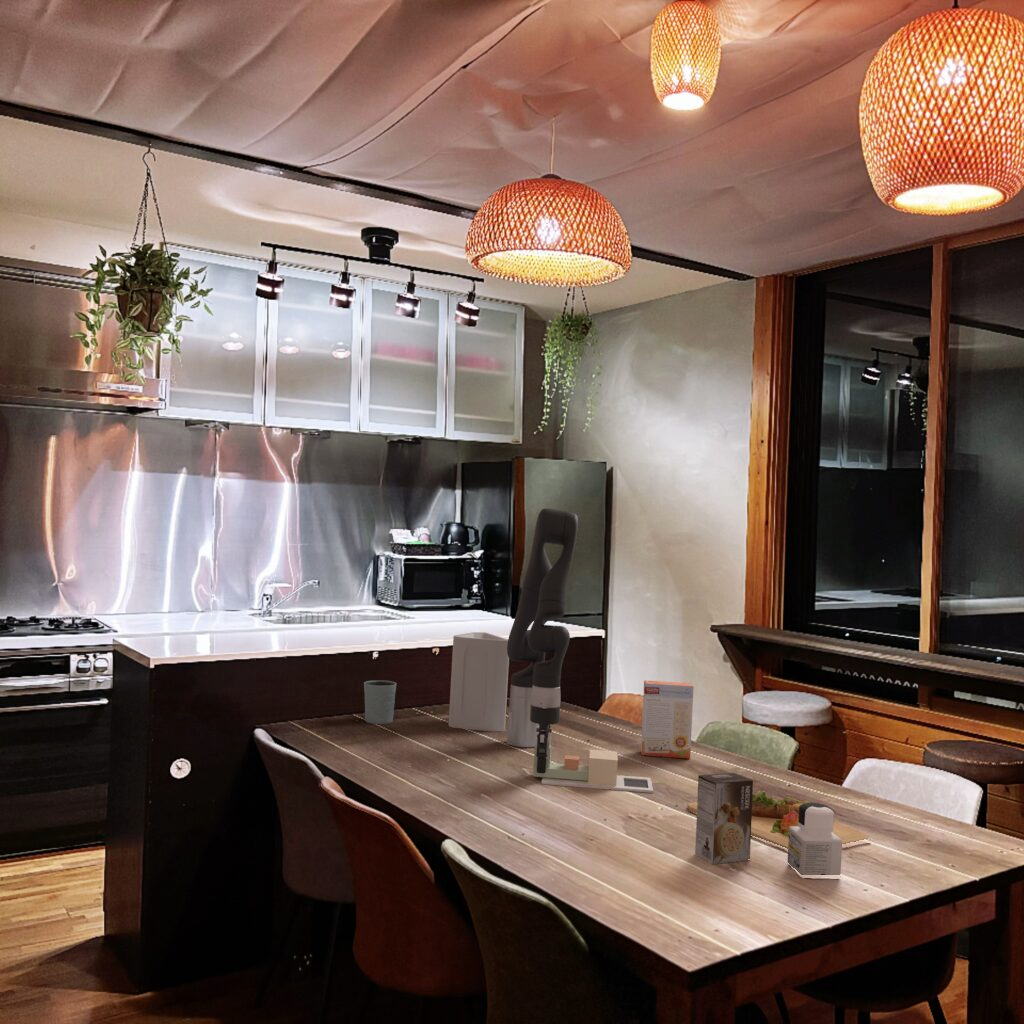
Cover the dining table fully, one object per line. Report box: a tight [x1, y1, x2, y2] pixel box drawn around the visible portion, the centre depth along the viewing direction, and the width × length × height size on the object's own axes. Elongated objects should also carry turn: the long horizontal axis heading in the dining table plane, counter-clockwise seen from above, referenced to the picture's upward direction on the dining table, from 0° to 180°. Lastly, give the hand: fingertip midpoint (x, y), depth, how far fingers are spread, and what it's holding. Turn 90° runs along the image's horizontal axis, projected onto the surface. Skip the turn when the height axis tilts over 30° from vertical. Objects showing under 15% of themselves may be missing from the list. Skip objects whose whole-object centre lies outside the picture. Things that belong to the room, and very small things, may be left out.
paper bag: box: [448, 631, 510, 733], centre depth 302 cm, size 19×15×28 cm
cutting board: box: [687, 790, 871, 849], centre depth 216 cm, size 35×23×8 cm
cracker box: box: [640, 680, 694, 760], centre depth 276 cm, size 14×6×21 cm, turn 84°
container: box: [786, 802, 843, 875], centre depth 186 cm, size 8×8×13 cm
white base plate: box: [541, 749, 654, 794], centre depth 243 cm, size 28×12×7 cm, turn 84°
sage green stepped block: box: [532, 743, 589, 781], centre depth 244 cm, size 14×6×7 cm, turn 84°
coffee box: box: [694, 772, 754, 865], centre depth 192 cm, size 9×6×16 cm
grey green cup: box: [363, 679, 397, 725], centre depth 301 cm, size 10×10×12 cm
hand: (541, 769), depth 245 cm, fingers closed on sage green stepped block, 5 cm apart
